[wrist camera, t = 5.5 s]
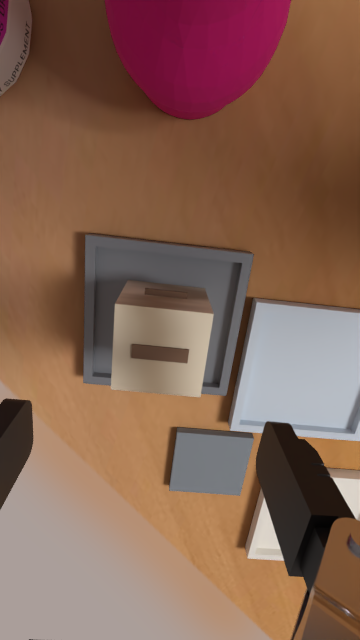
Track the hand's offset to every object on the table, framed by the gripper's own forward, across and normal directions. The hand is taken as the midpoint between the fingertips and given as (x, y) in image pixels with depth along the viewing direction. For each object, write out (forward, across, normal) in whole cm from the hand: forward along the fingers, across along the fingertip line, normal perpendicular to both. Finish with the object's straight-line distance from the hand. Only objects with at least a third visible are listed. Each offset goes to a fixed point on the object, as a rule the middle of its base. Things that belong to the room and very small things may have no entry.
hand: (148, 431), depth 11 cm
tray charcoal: (+12, 0, 0) cm, 12 cm away
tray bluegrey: (+12, -11, +3) cm, 17 cm away
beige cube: (+11, 0, 0) cm, 11 cm away
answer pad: (+12, -5, +12) cm, 18 cm away
